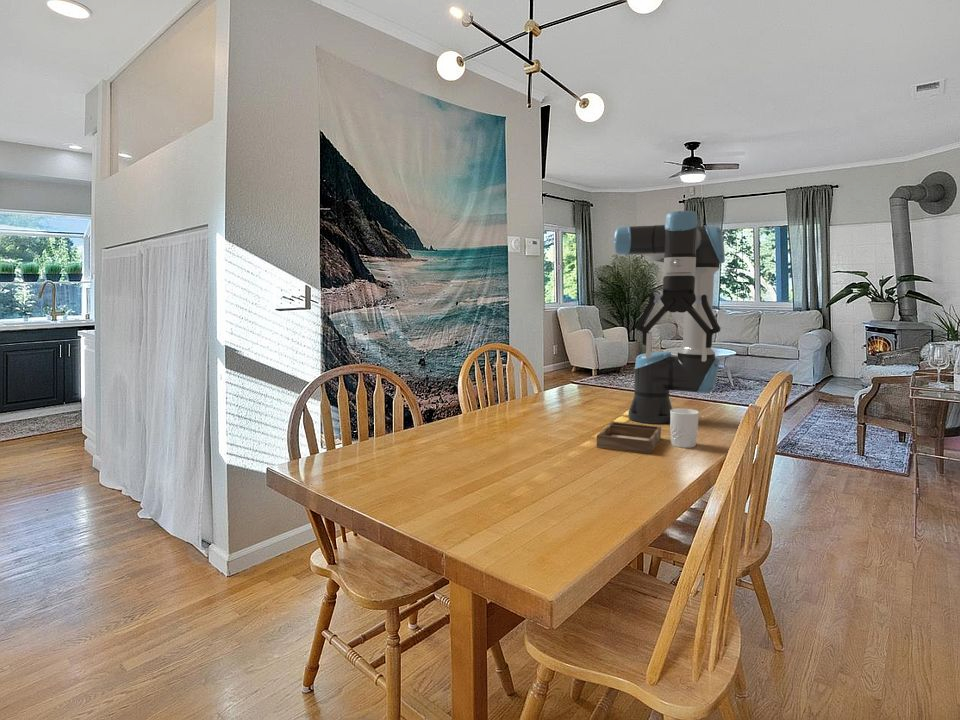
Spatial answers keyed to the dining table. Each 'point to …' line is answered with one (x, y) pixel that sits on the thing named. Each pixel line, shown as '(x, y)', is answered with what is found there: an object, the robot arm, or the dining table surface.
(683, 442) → the white cup
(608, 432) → the walnut caddy
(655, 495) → the dining table surface
